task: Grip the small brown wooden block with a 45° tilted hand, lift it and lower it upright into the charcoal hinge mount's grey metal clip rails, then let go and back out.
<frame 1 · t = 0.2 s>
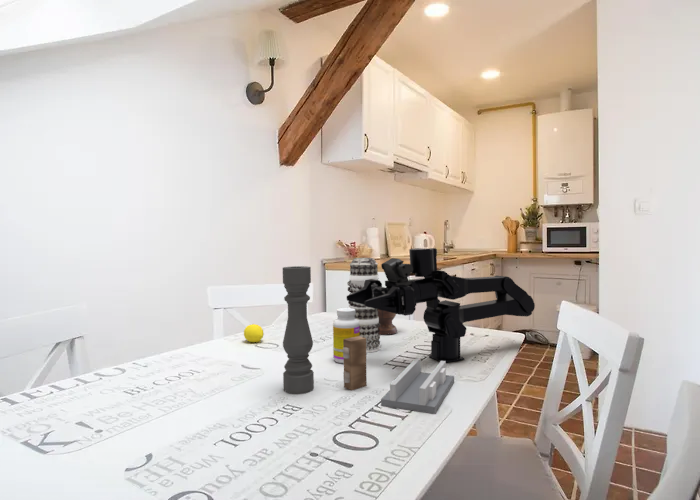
hand: (355, 300, 99), 17 cm above the table, tool horizontal, fingers open, 9 cm apart
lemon: (253, 342, 130), on the table
supplement bottle: (346, 361, 110), on the table
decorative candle: (364, 349, 121), on the table
candle holder: (298, 389, 90), on the table
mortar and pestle: (382, 334, 139), on the table
brown wooden block: (355, 386, 91), on the table
hinge mount: (420, 392, 87), on the table
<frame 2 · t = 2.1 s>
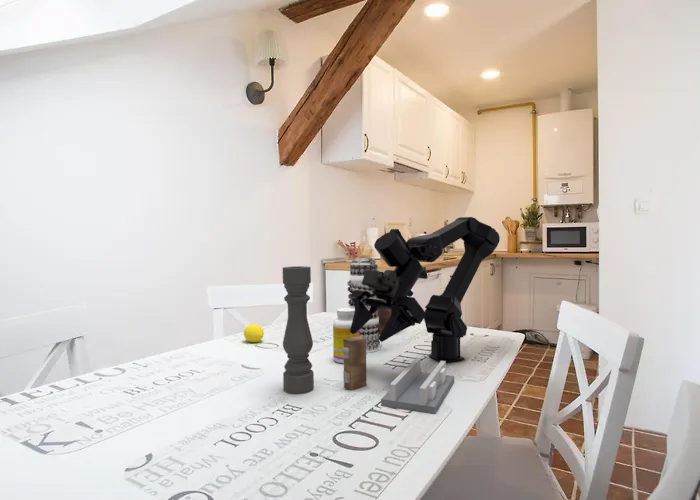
hand: (365, 336, 93), 10 cm above the table, tool tilted 45°, fingers open, 9 cm apart
nothing on the table moved.
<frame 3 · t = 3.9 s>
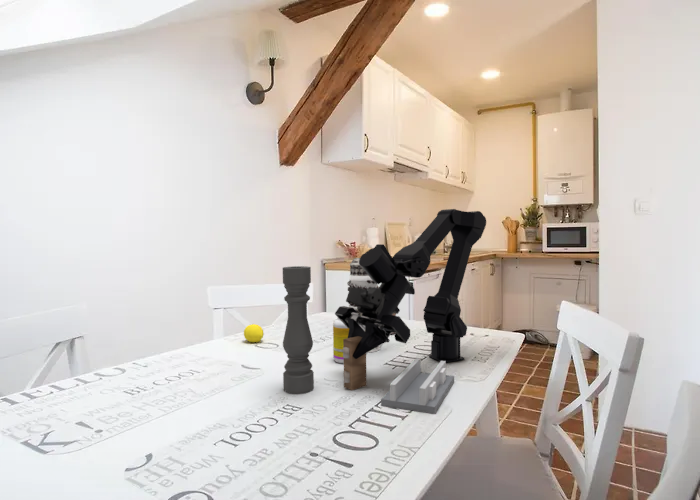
hand: (349, 356, 90), 7 cm above the table, tool tilted 45°, fingers closed on brown wooden block, 2 cm apart
brown wooden block: (355, 386, 91), on the table, touching gripper
everything else where it was.
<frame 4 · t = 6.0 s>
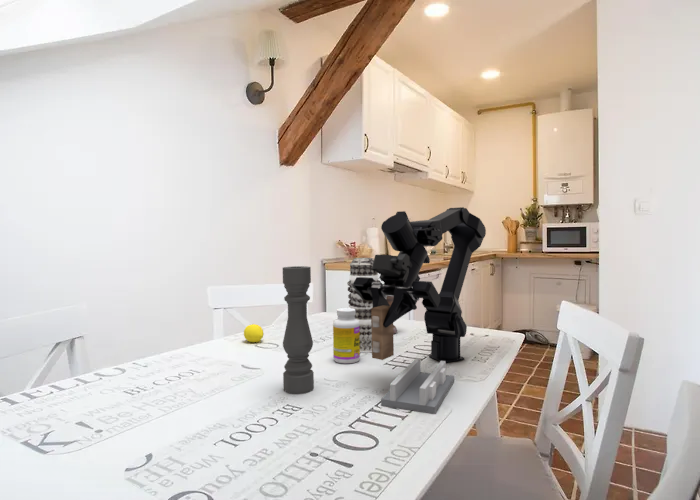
hand: (378, 325, 87), 13 cm above the table, tool tilted 45°, fingers closed on brown wooden block, 2 cm apart
brown wooden block: (382, 356, 88), point 7 cm above the table, touching gripper
everything else where it was.
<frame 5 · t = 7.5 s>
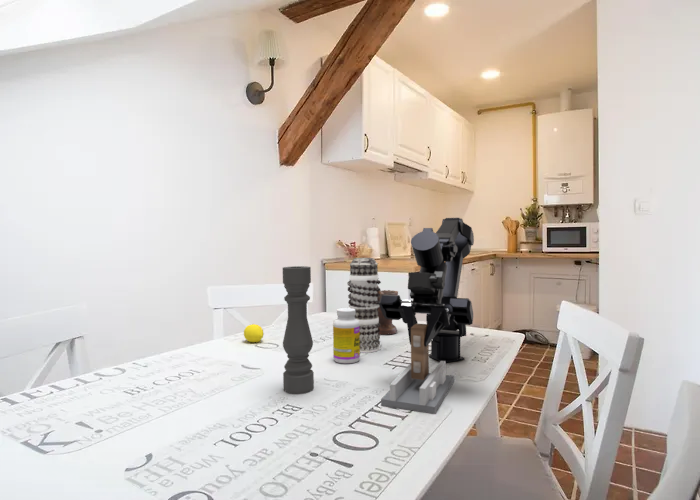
hand: (418, 344, 85), 10 cm above the table, tool tilted 45°, fingers closed on brown wooden block, 2 cm apart
brown wooden block: (420, 375, 87), point 3 cm above the table, touching gripper
everything else where it was.
when the fingers open (9 cm above the table, at t = 8.4 s): brown wooden block stays where it is, resting on hinge mount.
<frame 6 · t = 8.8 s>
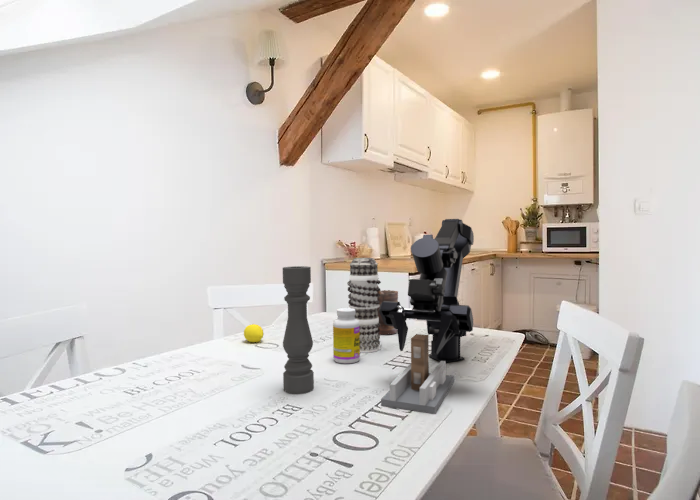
hand: (418, 351, 85), 9 cm above the table, tool tilted 45°, fingers open, 7 cm apart
brown wooden block: (420, 386, 87), point 1 cm above the table, touching hinge mount
everything else where it was.
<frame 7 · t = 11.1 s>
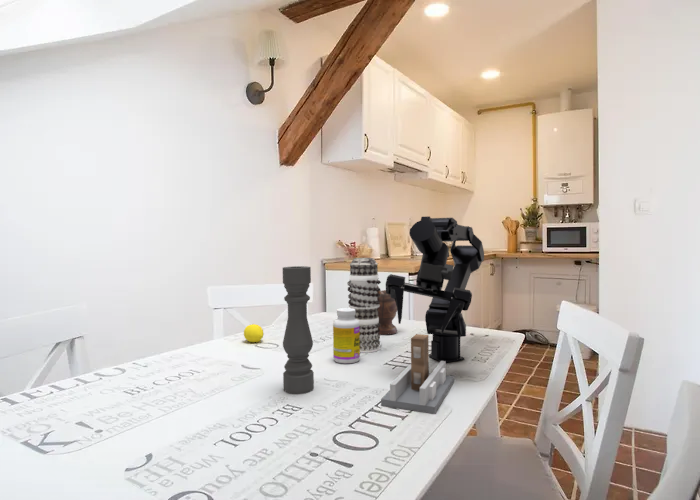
hand: (420, 328, 94), 11 cm above the table, tool tilted 35°, fingers open, 9 cm apart
nothing on the table moved.
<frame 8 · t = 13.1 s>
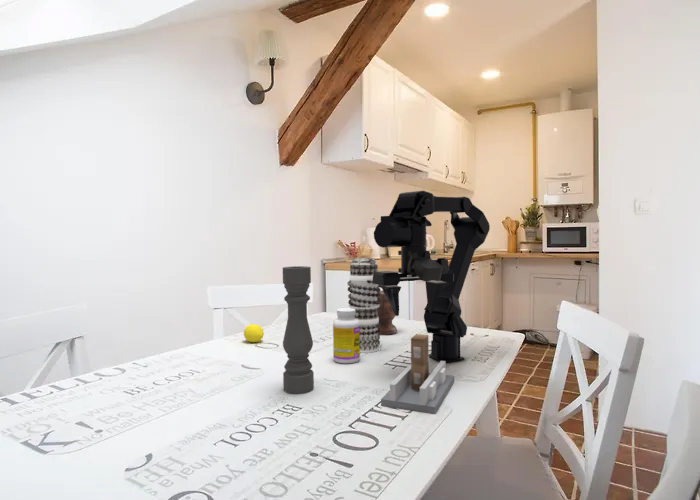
hand: (414, 314, 101), 13 cm above the table, tool pointing down, fingers open, 9 cm apart
nothing on the table moved.
at the end: brown wooden block inside the target area on the hinge mount (0.0 cm from its centre), point 1.2 cm above the hinge mount's base; brown wooden block tilted 0°; the gripper is holding nothing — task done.
